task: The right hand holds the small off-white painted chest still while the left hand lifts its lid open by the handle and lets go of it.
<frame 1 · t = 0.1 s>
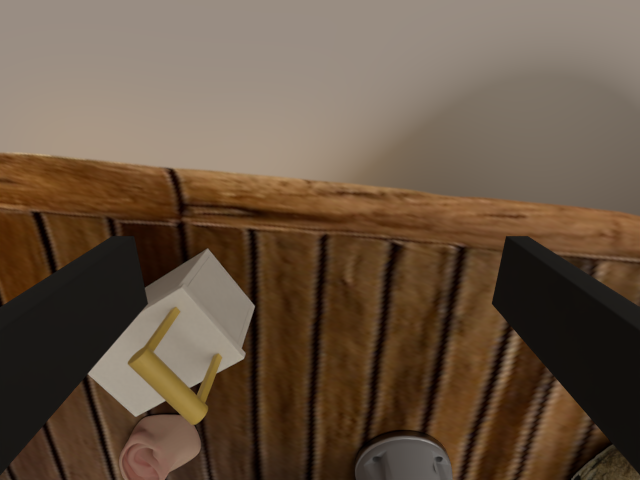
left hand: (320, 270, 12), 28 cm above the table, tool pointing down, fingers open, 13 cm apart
lid: (140, 382, 32), point 14 cm above the table, hinge at 0.0°
anatomical model: (164, 441, 55), on the table
chest: (189, 303, 45), on the table
fossil: (602, 467, 57), on the table
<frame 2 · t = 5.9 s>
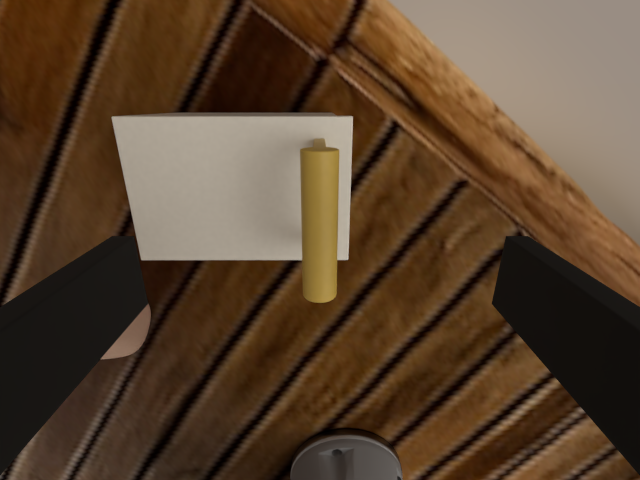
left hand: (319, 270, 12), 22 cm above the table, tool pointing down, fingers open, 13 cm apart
lid: (226, 208, 20), point 14 cm above the table, hinge at 0.0°
anatomical model: (95, 319, 40), on the table
chest: (258, 167, 33), on the table
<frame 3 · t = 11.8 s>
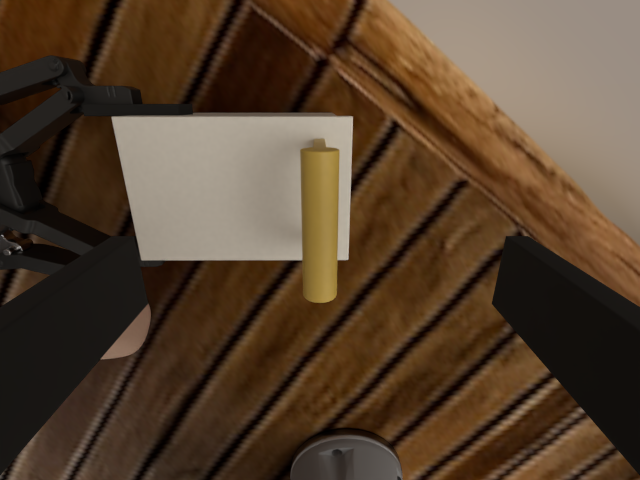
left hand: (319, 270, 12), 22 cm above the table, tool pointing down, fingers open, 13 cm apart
lid: (226, 208, 20), point 14 cm above the table, hinge at -0.1°
anatomical model: (95, 319, 40), on the table
chest: (258, 167, 33), on the table, touching right hand
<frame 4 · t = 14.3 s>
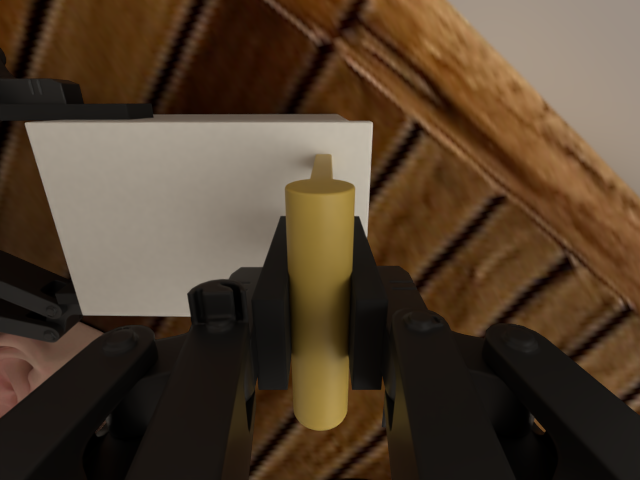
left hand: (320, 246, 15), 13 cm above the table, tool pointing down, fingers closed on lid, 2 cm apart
lid: (181, 260, 13), point 14 cm above the table, hinge at 1.6°, touching left hand
anatomical model: (53, 360, 33), on the table
chest: (245, 182, 27), on the table, touching right hand
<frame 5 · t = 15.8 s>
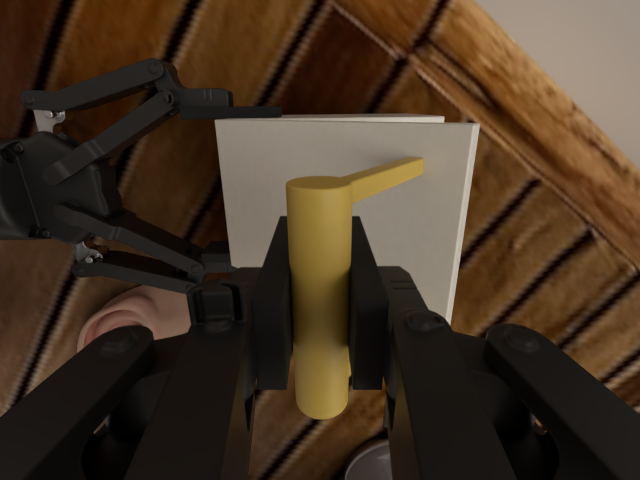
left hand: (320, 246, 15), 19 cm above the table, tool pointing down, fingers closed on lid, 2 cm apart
right hand: (283, 186, 26), fingers closed on chest, 10 cm apart
lid: (269, 236, 16), point 18 cm above the table, hinge at 36.9°, touching left hand
anatomical model: (153, 326, 39), on the table
chest: (328, 169, 33), on the table, touching right hand
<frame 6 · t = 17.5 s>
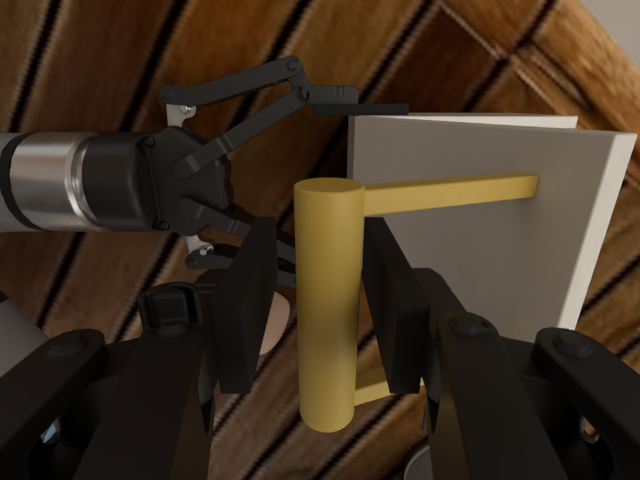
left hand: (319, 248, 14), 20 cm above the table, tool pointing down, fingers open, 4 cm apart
right hand: (397, 182, 27), fingers closed on chest, 10 cm apart
lid: (353, 235, 16), point 19 cm above the table, hinge at 69.8°
anatomical model: (231, 319, 40), on the table
chest: (420, 167, 33), on the table, touching right hand
when the right hand's fingers open (7 cm above the table, at t = 21.8 s): chest stays where it is, on the table.
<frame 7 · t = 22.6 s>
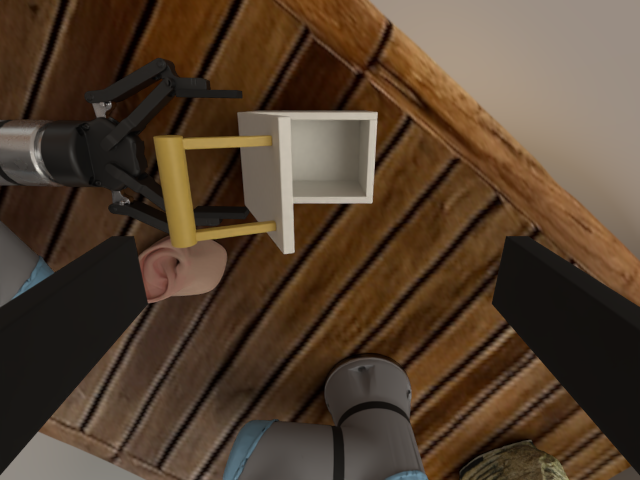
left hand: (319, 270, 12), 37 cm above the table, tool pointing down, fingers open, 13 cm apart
right hand: (244, 157, 40), fingers open, 13 cm apart
lid: (217, 175, 30), point 19 cm above the table, hinge at 67.5°
anatomical model: (184, 263, 53), on the table
chest: (312, 149, 47), on the table
fossil: (500, 458, 69), on the table
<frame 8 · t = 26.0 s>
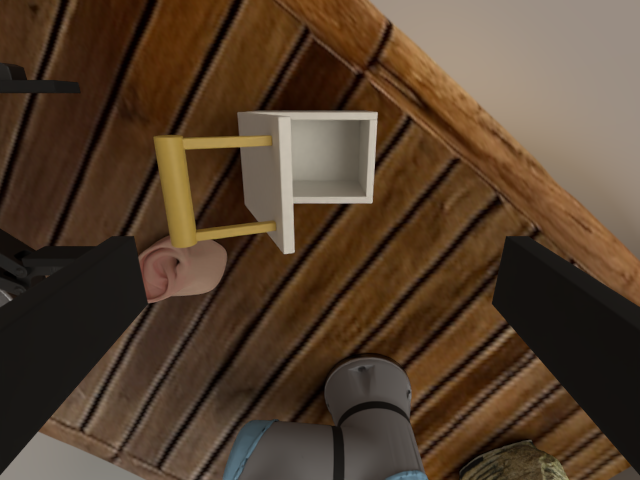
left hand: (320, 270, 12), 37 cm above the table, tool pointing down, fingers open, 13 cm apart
lid: (217, 175, 30), point 19 cm above the table, hinge at 67.5°
anatomical model: (184, 263, 53), on the table
chest: (312, 149, 47), on the table
fossil: (500, 458, 69), on the table
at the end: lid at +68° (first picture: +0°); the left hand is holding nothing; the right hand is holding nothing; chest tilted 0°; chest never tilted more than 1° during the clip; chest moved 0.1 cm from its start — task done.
